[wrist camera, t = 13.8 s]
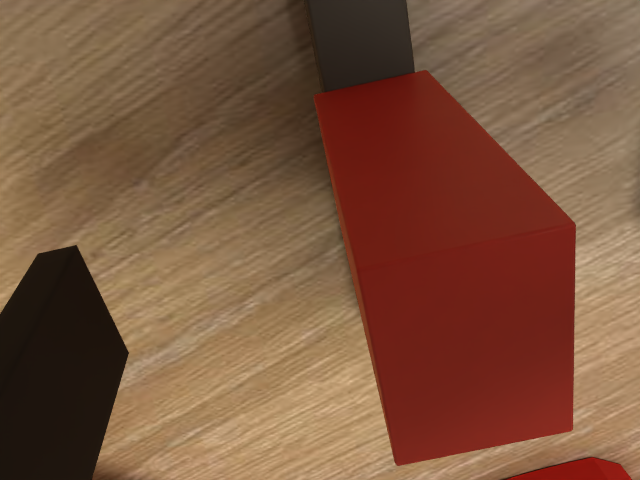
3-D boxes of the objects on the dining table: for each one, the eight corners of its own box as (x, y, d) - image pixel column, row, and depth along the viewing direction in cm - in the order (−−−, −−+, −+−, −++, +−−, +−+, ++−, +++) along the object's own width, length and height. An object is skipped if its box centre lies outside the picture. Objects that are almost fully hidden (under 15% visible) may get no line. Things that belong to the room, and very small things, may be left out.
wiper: (358, 314, 22) (428, 627, 12) (266, -124, 15) (266, -172, 6) (438, 296, 22) (571, 600, 12) (382, -151, 15) (585, -248, 6)
